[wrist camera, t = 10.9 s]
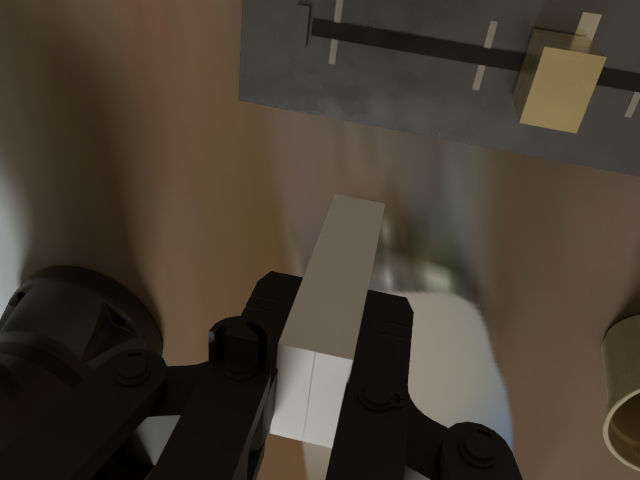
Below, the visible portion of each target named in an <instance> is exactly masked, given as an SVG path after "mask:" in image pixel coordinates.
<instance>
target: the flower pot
mask: <svg viewBox="0 0 640 480" xmlns="http://www.w3.org/2000/svg"><path fill="white" fill-rule="evenodd" d="M601 352H602V358H603V365H604V373H605V381H606V389H607V397H608V404H607V409H606V415H605V418H604V421H603V437H604V440H605V443H606V445H607V447H608V448H609V450H610V451H611V453H612V454H613V455H614V456H615V457H616V458H617V459H619V460H620V461H621V462H622V463H624V464H626V465H627V466H629V467H631V468H633V469H635V470H637V471H640V315H636V316H632V317H629V318H626V319H624V320H622V321H620V322H618V323H617V324H615V325H614V326H612V327H611V328H610V329H609V330H608V332H607V334H606V336H605V338H604V340H603V343H602V346H601Z"/></svg>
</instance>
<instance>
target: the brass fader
mask: <svg viewBox="0 0 640 480" xmlns="http://www.w3.org/2000/svg"><path fill="white" fill-rule="evenodd" d="M606 58H607V57H606V56H605V54H604V53H603V52H602V51H601V50H600V49H599V48H598V47H597V46H596V45H595V44H594V43H593V42H592V41H591V40H590V39H589V38H588V37H583V36H577V35H571V34H565V33H558V32H552V31H546V30H540V29H533V33H532V36H531V39H530V42H529V45H528V48H527V52H526V55H525V58H524V61H523V64H522V67H521V70H520V74H519V77H518V80H517V83H516V86H515V89H514V93H513V96H512V99H513V103H514V106H515V110H516V113H517V117H518V121H519V123H522V124H528V125H533V126H538V127H544V128H549V129H555V130H560V131H566V132H571V133H577V131H578V129H579V126H580V124H581V121H582V118H583V116H584V113H585V111H586V108H587V106H588V103H589V101H590V98H591V96H592V93H593V91H594V88H595V86H596V83H597V81H598V78H599V76H600V73H601V71H602V68H603V66H604V63H605V61H606Z"/></svg>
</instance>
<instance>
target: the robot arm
mask: <svg viewBox="0 0 640 480" xmlns="http://www.w3.org/2000/svg"><path fill="white" fill-rule="evenodd" d="M384 207H385V204H384V203H378V202H373V201H368V200H363V199H357V198H352V197H347V196H341V195H336V194H335V196H334V198H333V201H332V204H331V206H330V209H329V212H328V214H327V217H326V219H325V222H324V225H323V227H322V230H321V233H320V235H319V238H318V240H317V243H316V246H315V248H314V251H313V254H312V256H311V259H310V261H309V264H308V267H307V269H306V272H305V275H304V277H298V276H293V275H288V274H283V273H278V272H273V271H271V272H269V273H268V274H267V275H265V276H264V277H263V278H261V279H260V280H259V281H258V282H257V284H256V286H255V288H254V290H253V292H252V294H251V297H250V298H249V300H248V302H247V304H246V308H244V310H243V312H242V314H241V316H235V317H229V318H225V319H223V320H221V321H219V322H217V323H215V325H214V326H213V327H212V328H211V329H210V330H209V361H207V362H204V363H201V364H197V365H189V366H167V365H166V363H165V361H164V359H163V358H162V357H161V356H162V340H161V336H160V333H159V330H158V327H157V325H156V323H155V321H154V320H153V318H152V316H151V315H150V313H149V312H148V311H147V309H146V308H145V307H144V306H143V305H142V303H141V302H140V301H139V300H138V299H137V298H136V297H135V296H133V295H132V294H131V293H130V292H129V291H127V290H126V289H125V288H123V287H122V286H121V285H119V284H117V283H116V282H114V281H112V280H111V279H109V278H107V277H105V276H103V275H100V274H98V273H95V272H93V271H90V270H86V269H82V268H78V267H70V266H57V267H50V268H46V269H43V270H41V271H39V272H37V273H36V274H34V275H33V276H32V277H30V278H29V279H28V280H27V281H26V282H25V283H24V284H23V285H22V286H20V287H19V288H18V289H17V290H16V292H15V293H14V294H13V296H12V297H11V299H10V301H9V303H8V305H7V307H6V309H5V311H4V313H3V315H2V317H1V319H0V480H256V478H257V475H258V472H259V469H260V466H261V463H262V460H263V457H264V449H265V439H266V436H267V433H268V430H269V427H270V425H271V429H270V433H271V434H275V435H279V436H283V437H287V438H291V439H296V440H300V441H304V442H309V443H313V444H317V445H321V446H325V447H329V448H332V451H331V456H330V461H329V466H328V470H327V475H326V479H325V480H523V479H522V477H521V474H520V471H519V469H518V466H517V464H516V461H515V458H514V456H513V453H512V451H511V449H510V448H509V446H508V444H507V443H506V441H505V440H504V439H503V438H502V437H501V436H500V435H498V434H497V433H496V432H495V431H494V430H491V429H490V428H488V427H486V426H484V425H482V424H477V423H472V422H463V423H456V424H455V425H453V426H452V427H450V428H447V427H445V426H443V425H441V424H439V423H437V422H435V421H433V420H432V419H430V418H429V417H427V416H426V415H424V414H423V413H422V412H421V411H420V410H418V409H417V407H416V406H415V405H414V403H413V402H412V400H411V398H410V395H409V393H408V374H409V362H410V349H411V338H412V326H413V313H414V312H413V310H412V308H411V306H410V304H409V302H408V300H407V298H406V297H401V296H396V295H391V294H387V293H382V292H377V291H372V290H368V288H369V283H370V278H371V273H372V268H373V263H374V258H375V253H376V248H377V243H378V237H379V232H380V227H381V222H382V217H383V212H384Z"/></svg>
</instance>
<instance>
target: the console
mask: <svg viewBox="0 0 640 480" xmlns="http://www.w3.org/2000/svg"><path fill="white" fill-rule="evenodd" d="M533 29H540V30H546V31H552V32H558V33H565V34H571V35H577V36H583V37H588V38H589V39H590V40H591V41H592V42H593V43H594V44H595V45H596V46H597V47H598V48H599V49H600V50H601V51H602V52H603V53H604V54H605V56H606V57H607V58H606V61H605V63H604V66H603V68H602V71H601V73H600V76H599V78H598V81H597V83H596V86H595V88H594V91H593V93H592V96H591V98H590V101H589V103H588V106H587V108H586V111H585V113H584V116H583V118H582V121H581V124H580V126H579V129H578V131H577V133H571V132H566V131H560V130H555V129H549V128H544V127H538V126H533V125H528V124H522V123H519V121H518V117H517V113H516V110H515V106H514V103H513V99H512V96H513V93H514V89H515V86H516V83H517V80H518V77H519V74H520V70H521V67H522V64H523V61H524V58H525V55H526V52H527V48H528V45H529V42H530V39H531V36H532V33H533ZM239 100H240V101H245V102H250V103H255V104H261V105H266V106H271V107H276V108H282V109H287V110H292V111H298V112H303V113H308V114H313V115H319V116H324V117H329V118H334V119H340V120H345V121H350V122H355V123H361V124H366V125H371V126H377V127H382V128H387V129H392V130H398V131H403V132H408V133H413V134H419V135H424V136H429V137H435V138H440V139H445V140H450V141H456V142H461V143H466V144H471V145H477V146H482V147H487V148H493V149H498V150H503V151H508V152H514V153H519V154H524V155H529V156H535V157H540V158H545V159H551V160H556V161H561V162H566V163H572V164H577V165H582V166H587V167H593V168H598V169H603V170H609V171H614V172H619V173H624V174H630V175H635V176H640V0H242V26H241V52H240V79H239Z"/></svg>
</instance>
